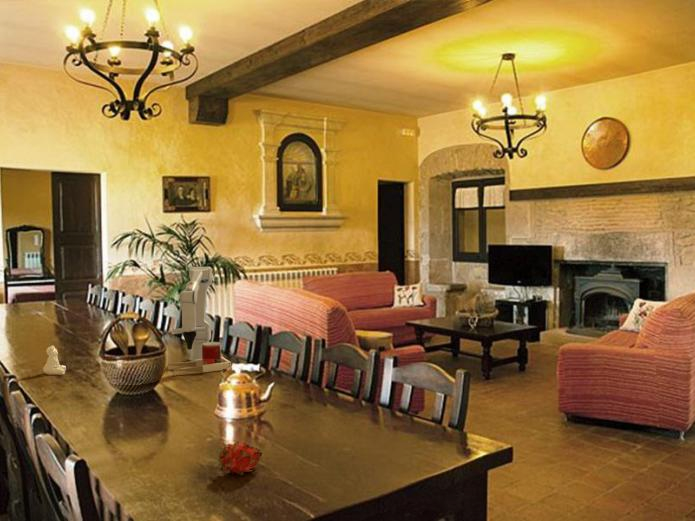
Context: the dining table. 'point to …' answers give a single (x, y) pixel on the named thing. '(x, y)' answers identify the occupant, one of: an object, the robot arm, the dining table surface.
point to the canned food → (211, 353)
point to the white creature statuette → (53, 363)
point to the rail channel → (185, 368)
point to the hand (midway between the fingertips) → (189, 349)
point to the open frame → (214, 365)
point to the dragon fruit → (239, 458)
